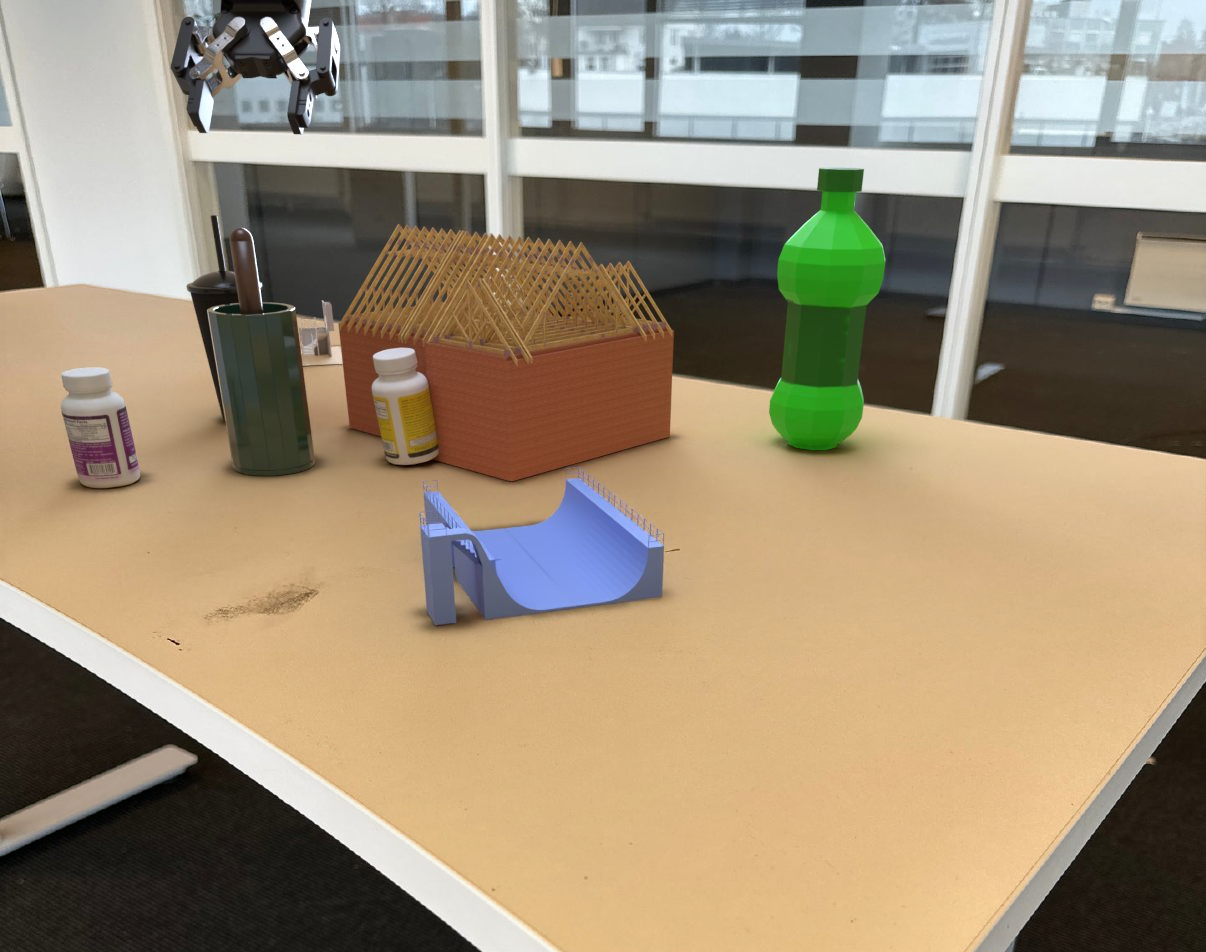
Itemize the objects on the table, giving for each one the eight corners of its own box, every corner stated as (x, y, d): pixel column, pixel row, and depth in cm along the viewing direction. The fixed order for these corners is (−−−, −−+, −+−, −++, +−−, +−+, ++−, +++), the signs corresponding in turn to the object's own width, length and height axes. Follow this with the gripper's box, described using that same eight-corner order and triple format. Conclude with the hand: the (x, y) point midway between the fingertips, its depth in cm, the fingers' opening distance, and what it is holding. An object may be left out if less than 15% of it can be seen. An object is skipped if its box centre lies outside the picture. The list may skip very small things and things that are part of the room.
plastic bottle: (752, 432, 120) (773, 166, 107) (848, 431, 121) (880, 166, 108) (774, 457, 112) (799, 171, 99) (876, 455, 113) (914, 171, 100)
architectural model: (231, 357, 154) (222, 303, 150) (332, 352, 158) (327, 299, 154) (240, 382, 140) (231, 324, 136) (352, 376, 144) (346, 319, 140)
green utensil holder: (216, 470, 106) (188, 311, 99) (267, 451, 112) (245, 300, 105) (281, 480, 104) (257, 317, 96) (330, 460, 110) (311, 305, 102)
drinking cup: (269, 407, 128) (240, 211, 118) (289, 421, 123) (262, 217, 112) (201, 415, 125) (166, 214, 115) (220, 429, 120) (184, 219, 109)
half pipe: (662, 598, 80) (665, 499, 76) (435, 628, 75) (427, 523, 71) (579, 524, 94) (579, 436, 90) (384, 545, 89) (375, 454, 85)
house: (673, 437, 118) (681, 234, 108) (514, 482, 103) (506, 252, 93) (492, 397, 134) (484, 216, 124) (332, 431, 119) (308, 229, 109)
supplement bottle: (447, 446, 111) (430, 344, 105) (430, 466, 107) (411, 360, 101) (396, 447, 112) (376, 346, 107) (377, 467, 108) (356, 362, 102)
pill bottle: (113, 470, 106) (89, 363, 101) (153, 478, 104) (131, 368, 99) (66, 484, 102) (38, 373, 97) (107, 492, 100) (81, 379, 95)
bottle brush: (240, 462, 107) (202, 228, 96) (269, 451, 110) (236, 224, 100) (277, 467, 105) (243, 230, 95) (306, 456, 109) (276, 226, 98)
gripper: (176, -64, 98) (148, 89, 94) (335, -64, 97) (314, 91, 93) (210, 14, 105) (185, 159, 102) (358, 15, 104) (339, 161, 101)
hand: (247, 126), depth 98 cm, fingers open, 8 cm apart
